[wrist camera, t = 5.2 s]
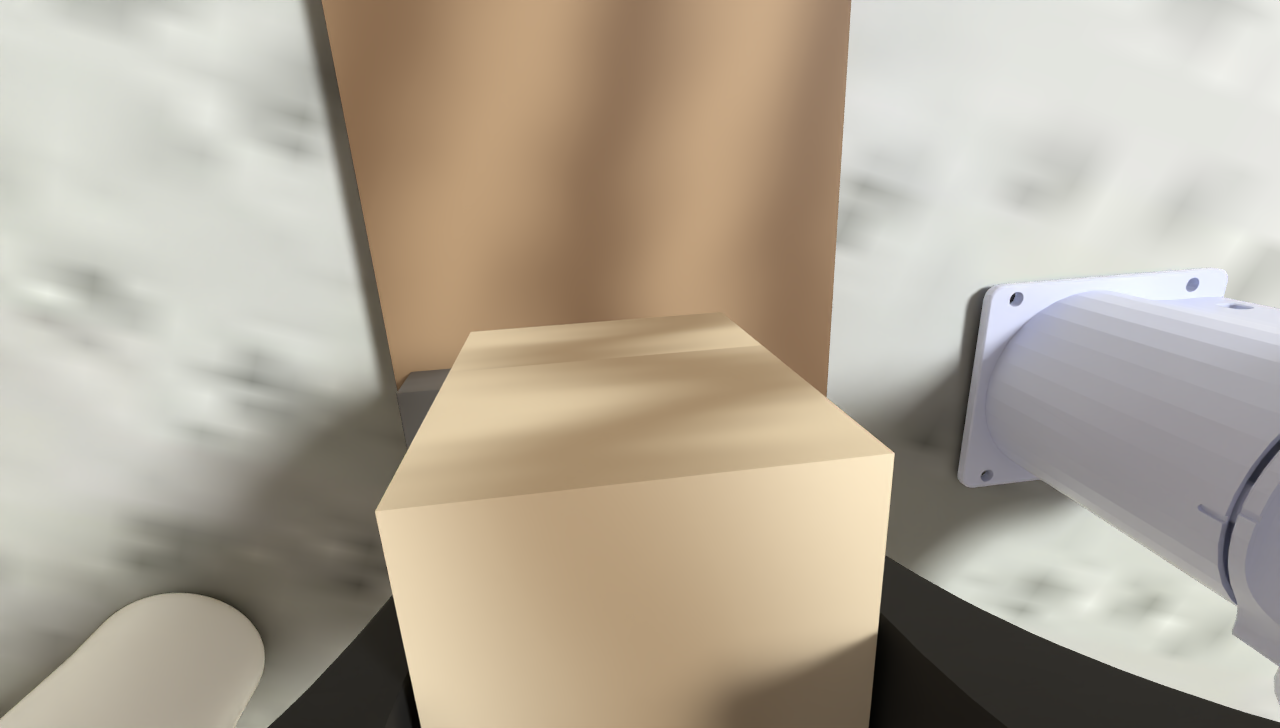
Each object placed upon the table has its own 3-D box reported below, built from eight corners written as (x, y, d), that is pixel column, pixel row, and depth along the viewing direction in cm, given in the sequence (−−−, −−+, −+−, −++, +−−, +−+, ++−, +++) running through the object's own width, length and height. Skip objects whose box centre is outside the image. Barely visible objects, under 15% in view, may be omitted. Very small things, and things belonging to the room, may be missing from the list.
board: (850, -271, 15) (912, -360, 13) (806, 521, 23) (839, 567, 21) (278, -293, 14) (213, -401, 11) (440, 567, 22) (424, 623, 19)
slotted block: (720, 312, 12) (894, 452, 6) (722, 582, 14) (852, 894, 8) (471, 331, 11) (374, 511, 5) (509, 610, 14) (473, 972, 7)
